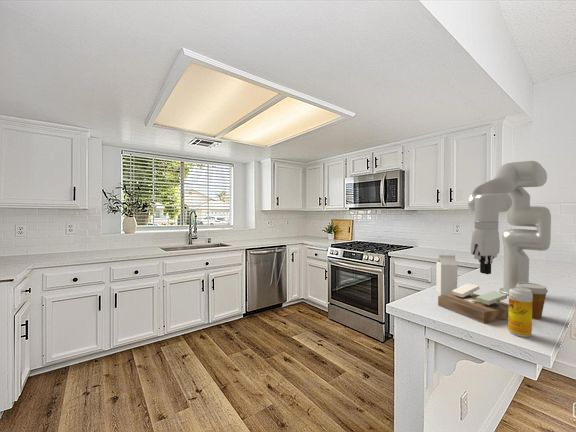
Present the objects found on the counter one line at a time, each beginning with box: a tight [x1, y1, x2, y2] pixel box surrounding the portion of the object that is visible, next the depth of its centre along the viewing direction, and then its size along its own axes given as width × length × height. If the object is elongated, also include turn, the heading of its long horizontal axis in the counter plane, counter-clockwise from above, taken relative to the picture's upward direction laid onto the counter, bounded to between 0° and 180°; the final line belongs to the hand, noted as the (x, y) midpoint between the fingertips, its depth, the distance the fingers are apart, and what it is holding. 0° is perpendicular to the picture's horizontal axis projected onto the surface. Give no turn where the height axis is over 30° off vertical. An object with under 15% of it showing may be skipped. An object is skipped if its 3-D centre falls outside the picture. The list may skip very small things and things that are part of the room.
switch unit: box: [437, 292, 509, 324], centre depth 116 cm, size 18×20×5 cm
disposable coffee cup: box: [516, 282, 549, 320], centre depth 110 cm, size 10×10×12 cm
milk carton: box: [435, 254, 459, 296], centre depth 138 cm, size 7×7×19 cm
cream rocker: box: [452, 282, 480, 297], centre depth 122 cm, size 10×5×2 cm, turn 109°
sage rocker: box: [476, 290, 508, 305], centre depth 112 cm, size 10×5×2 cm, turn 109°
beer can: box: [507, 287, 533, 338], centre depth 95 cm, size 6×6×15 cm
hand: (485, 273), depth 110 cm, fingers closed
